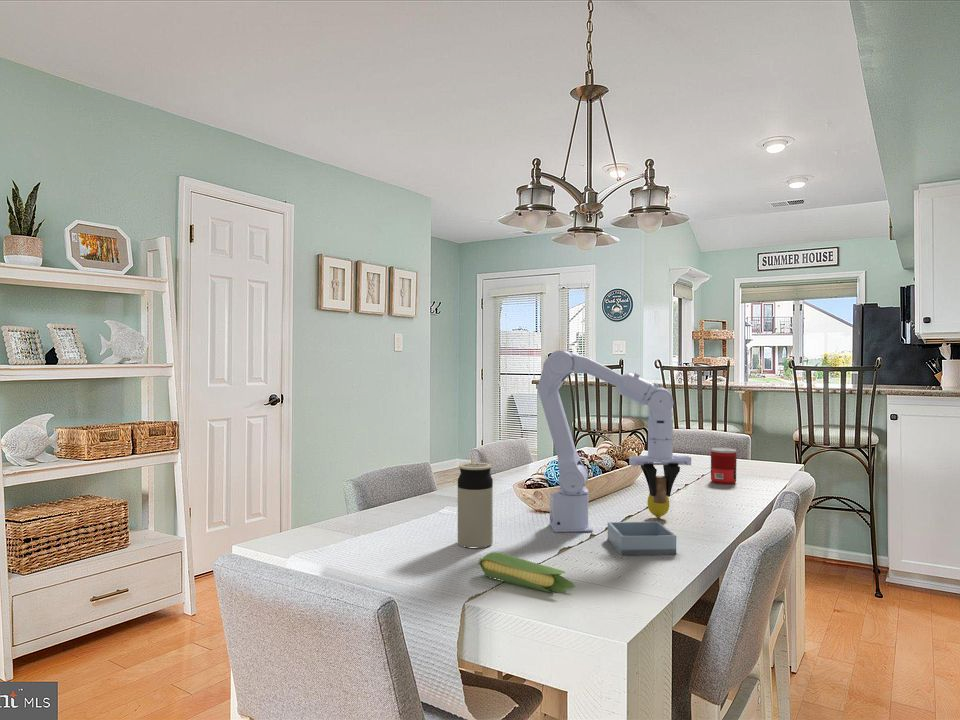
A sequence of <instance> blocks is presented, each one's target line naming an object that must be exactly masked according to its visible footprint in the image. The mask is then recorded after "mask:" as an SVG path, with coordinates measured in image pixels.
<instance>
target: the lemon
mask: <svg viewBox="0 0 960 720" xmlns="http://www.w3.org/2000/svg"><path fill="white" fill-rule="evenodd" d="M653 497H654V496H651V495H650V493H649V494H648V497H647V508H648V511H649V512H650V513H651V515H653V516H655V517H656V519H661V517H664V516H665V515H666V514H668V512H669V509H670V499H669V498H670V497H669V496H667V495H666V503H663V504H660V503H654V502H653Z"/></svg>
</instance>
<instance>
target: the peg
mask: <svg viewBox="0 0 960 720" xmlns="http://www.w3.org/2000/svg"><path fill="white" fill-rule="evenodd" d="M655 488H656V494H655V496H654V497H653V502H654V503H660V504H663V503H666V495H667V477H665V476H664V475H656V481H655Z"/></svg>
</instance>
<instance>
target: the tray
mask: <svg viewBox="0 0 960 720" xmlns="http://www.w3.org/2000/svg"><path fill="white" fill-rule="evenodd" d="M607 540H608V542H609V543H610V544H611V545H612V546H613V548H614V549H615V550H616V551H617V552H618V554H619V555H620V556H654V555H655V556H658V555H660V556H662V555H663V556H664V555H665V556H667V555H668V556H669V555H677V535H676V534H674V533H673V532H672V531H671V530H669V528H667V527H666V526H665V525H663V524H662V523H660V521H657V520H656V521H655V520H654V521H608V522H607Z"/></svg>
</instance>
